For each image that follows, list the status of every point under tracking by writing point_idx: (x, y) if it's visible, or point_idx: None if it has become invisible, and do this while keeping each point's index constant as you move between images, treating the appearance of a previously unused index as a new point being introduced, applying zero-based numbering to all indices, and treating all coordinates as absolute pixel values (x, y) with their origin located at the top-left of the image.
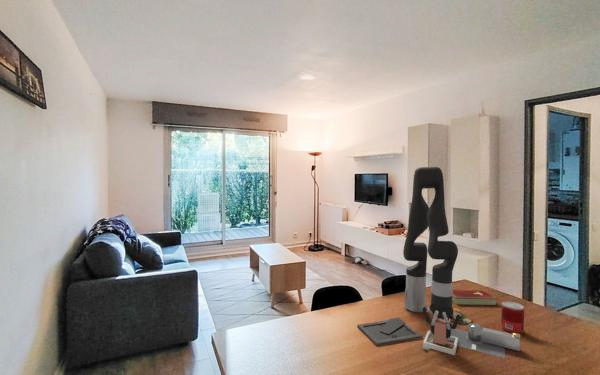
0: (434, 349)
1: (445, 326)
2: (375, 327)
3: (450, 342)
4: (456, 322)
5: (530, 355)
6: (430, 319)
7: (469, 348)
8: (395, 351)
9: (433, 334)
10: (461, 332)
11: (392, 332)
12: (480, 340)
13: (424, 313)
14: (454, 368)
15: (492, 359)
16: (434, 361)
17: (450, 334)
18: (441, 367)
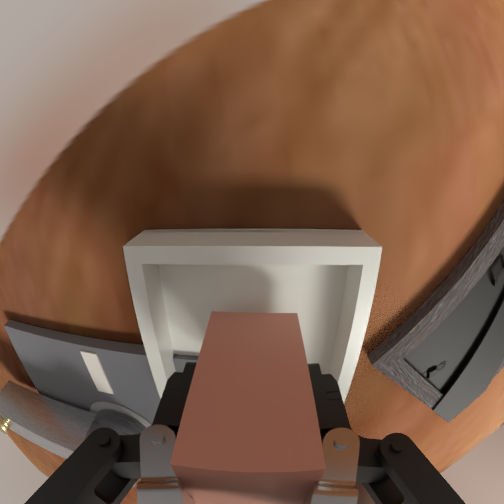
0: (283, 235)
1: (180, 446)
2: None
3: None
4: (62, 481)
5: (7, 377)
6: (364, 477)
7: (103, 353)
8: (481, 117)
9: (312, 364)
10: None
11: (497, 304)
12: (94, 416)
13: (452, 499)
14: (128, 96)
15: (31, 313)
16: (259, 96)
17: (164, 393)
18: (203, 52)
